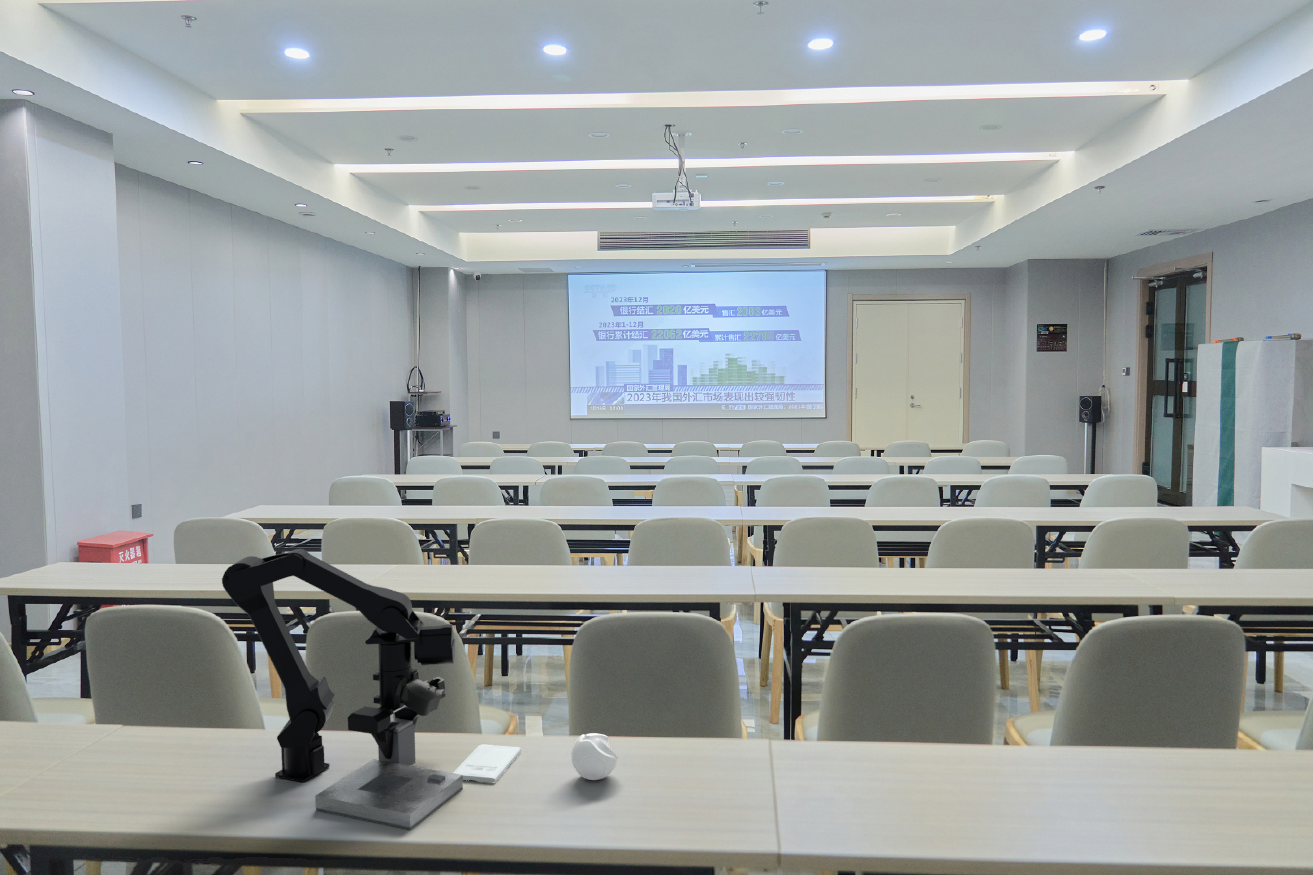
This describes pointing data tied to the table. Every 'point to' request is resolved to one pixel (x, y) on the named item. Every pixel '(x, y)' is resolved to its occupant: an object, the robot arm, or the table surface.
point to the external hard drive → (487, 763)
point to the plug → (402, 743)
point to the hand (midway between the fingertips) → (397, 752)
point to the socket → (390, 793)
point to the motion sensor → (593, 756)
